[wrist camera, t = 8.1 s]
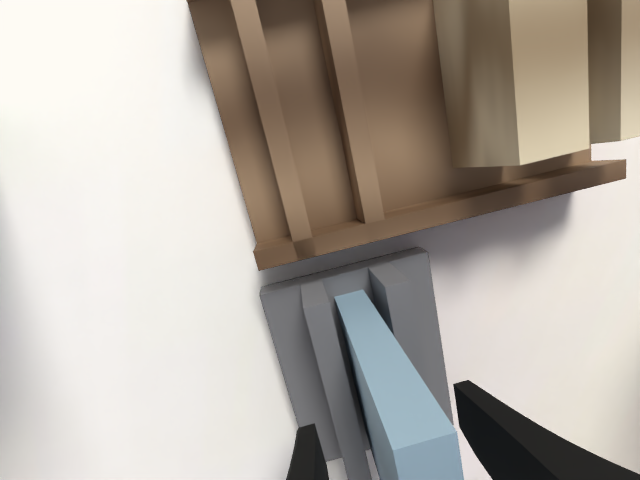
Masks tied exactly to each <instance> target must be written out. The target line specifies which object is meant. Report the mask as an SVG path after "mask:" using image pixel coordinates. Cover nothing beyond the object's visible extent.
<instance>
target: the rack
mask: <svg viewBox="0 0 640 480" xmlns="http://www.w3.org/2000/svg"><path fill="white" fill-rule="evenodd" d="M186 1H187V2H188V5H189V9H190V12H191V16H192V19H193V23H194V26H195V30H196V33H197V37H198V40H199V44H200V47H201V50H202V54H203V57H204V61H205V64H206V68H207V71H208V75H209V78H210V82H211V85H212V89H213V92H214V96H215V99H216V103H217V106H218V110H219V113H220V117H221V120H222V123H223V127H224V130H225V134H226V137H227V141H228V144H229V148H230V151H231V155H232V158H233V162H234V165H235V169H236V172H237V176H238V179H239V183H240V186H241V190H242V193H243V197H244V200H245V203H246V207H247V210H248V214H249V217H250V221H251V224H252V228H253V231H254V235H255V238H256V242H257V245H256V247H255V249H254V251H253V253H254V256H255V260H256V263H257V267H258V270H259V271H260V270H264V269H268V268H272V267H276V266H280V265H284V264H287V263H291V262H295V261H299V260H303V259H307V258H311V257H315V256H319V255H323V254H327V253H331V252H335V251H339V250H343V249H347V248H351V247H355V246H359V245H363V244H367V243H371V242H375V241H379V240H383V239H387V238H391V237H395V236H399V235H403V234H407V233H411V232H415V231H419V230H423V229H427V228H431V227H435V226H439V225H443V224H447V223H450V222H454V221H458V220H462V219H466V218H470V217H474V216H478V215H482V214H486V213H490V212H494V211H498V210H502V209H506V208H510V207H514V206H518V205H522V204H526V203H530V202H534V201H538V200H542V199H546V198H550V197H554V196H558V195H562V194H566V193H570V192H574V191H578V190H582V189H586V188H590V187H594V186H598V185H602V184H606V183H610V182H613V181H617V180H621V179H625V178H626V159H625V160H602V161H591V144H589V149H585V150H581V151H577V152H573V153H569V154H565V155H561V156H557V157H553V158H549V159H544V160H540V161H536V162H532V163H528V164H524V165H519V166H492V167H466V168H453V164H452V155H451V147H450V139H449V131H448V122H447V114H446V106H445V97H444V89H443V81H442V73H441V64H440V56H439V48H438V39H437V31H436V23H435V14H434V6H433V0H186Z"/></svg>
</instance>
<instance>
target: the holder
mask: <svg viewBox="0 0 640 480" xmlns="http://www.w3.org/2000/svg"><path fill="white" fill-rule="evenodd" d="M359 290H364V291H365V293H366V294H367V296H368V297H369V299H370V301H371V302H372V304H373V305H374V307H375V308H376V310H377V311H378V313H379V314H380V316H381V317H382V319H383V320H384V322H385V323H386V325H387V326H388V328H389V329H390V331H391V332H392V334H393V335H394V337H395V339H396V340H397V342H398V343H399V345H400V346H401V348H402V349H403V351H404V352H405V354H406V355H407V357H408V358H409V360H410V361H411V363H412V364H413V366H414V367H415V369H416V370H417V372H418V373H419V375H420V377H421V378H422V380H423V381H424V383H425V384H426V386H427V387H428V389H429V390H430V392H431V393H432V395H433V396H434V398H435V399H436V401H437V402H438V404H439V405H440V407H441V408H442V410H443V411H444V413H445V415H446V416H447V418H448V419H449V421H450V422H451V424H452V425H454V424H453V417H452V410H451V404H450V397H449V390H448V384H447V377H446V370H445V364H444V357H443V350H442V344H441V337H440V330H439V323H438V317H437V310H436V303H435V297H434V290H433V283H432V277H431V270H430V263H429V257H428V252H427V251H425V250H423V249H421V248H420V247H417V248H413V249H409V250H405V251H401V252H397V253H393V254H389V255H385V256H382V257H378V258H374V259H370V260H366V261H362V262H358V263H354V264H350V265H346V266H342V267H338V268H334V269H330V270H327V271H323V272H319V273H315V274H311V275H307V276H303V277H299V278H295V279H291V280H287V281H283V282H279V283H275V284H272V285H268V286H264V287H261V291H260V298H261V302H262V305H263V308H264V312H265V315H266V319H267V322H268V325H269V329H270V332H271V335H272V339H273V342H274V345H275V349H276V352H277V355H278V359H279V362H280V365H281V369H282V372H283V376H284V379H285V382H286V386H287V389H288V392H289V396H290V399H291V402H292V406H293V409H294V412H295V416H296V419H297V423H298V426H299V427H303V426H306V425H310V424H314V423H315V426H316V430H317V433H318V437H319V440H320V444H321V447H322V451H323V454H324V458H325V461H326V462H327V461H330V460H334V459H337V458H341V457H343V461H344V465H345V469H346V472H347V476H348V480H372V478H371V474H370V470H369V466H368V462H367V457H366V453H365V450H369V449H371V448H370V444H369V441H368V438H367V434H366V430H365V426H364V422H363V418H362V413H361V409H360V405H359V400H358V396H357V392H356V388H355V383H354V379H353V375H352V371H351V366H350V362H349V358H348V353H347V349H346V345H345V341H344V336H343V332H342V328H341V324H340V319H339V315H338V311H337V306H336V302H335V298H334V297H336V296H340V295H344V294H348V293H351V292H355V291H359Z"/></svg>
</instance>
